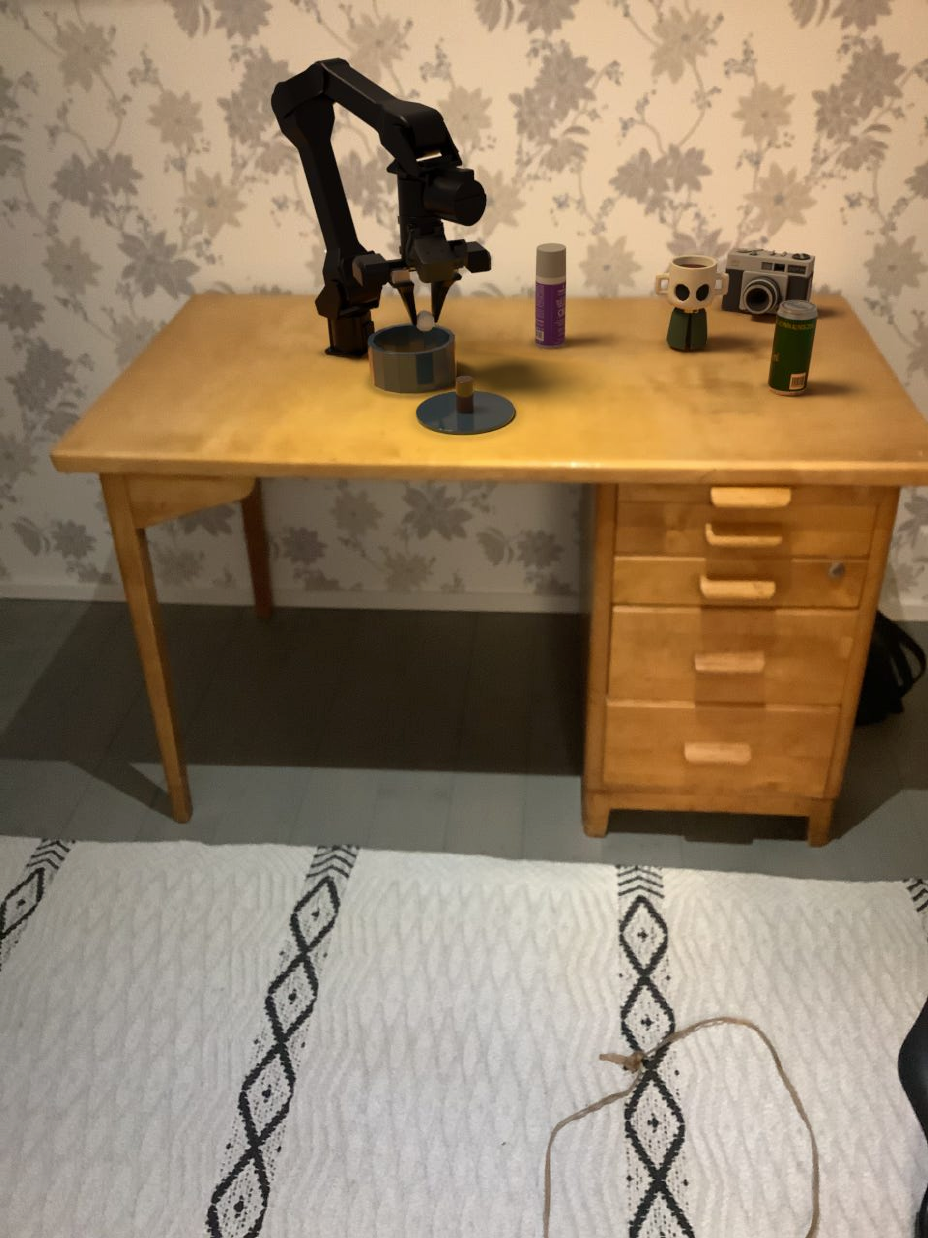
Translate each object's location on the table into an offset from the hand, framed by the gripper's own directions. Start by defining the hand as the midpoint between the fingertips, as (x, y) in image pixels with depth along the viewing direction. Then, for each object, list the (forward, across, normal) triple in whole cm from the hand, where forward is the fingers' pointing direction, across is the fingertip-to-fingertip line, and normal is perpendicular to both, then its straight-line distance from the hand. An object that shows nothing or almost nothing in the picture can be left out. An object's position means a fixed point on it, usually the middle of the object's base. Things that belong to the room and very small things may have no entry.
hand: (424, 323), depth 156 cm
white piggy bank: (+1, 0, 0) cm, 1 cm away
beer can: (+8, +46, -24) cm, 52 cm away
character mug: (+8, +41, -3) cm, 42 cm away
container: (+9, +22, +6) cm, 25 cm away
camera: (+8, +59, +5) cm, 60 cm away
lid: (+8, +1, -15) cm, 17 cm away
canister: (+9, -2, +1) cm, 9 cm away
